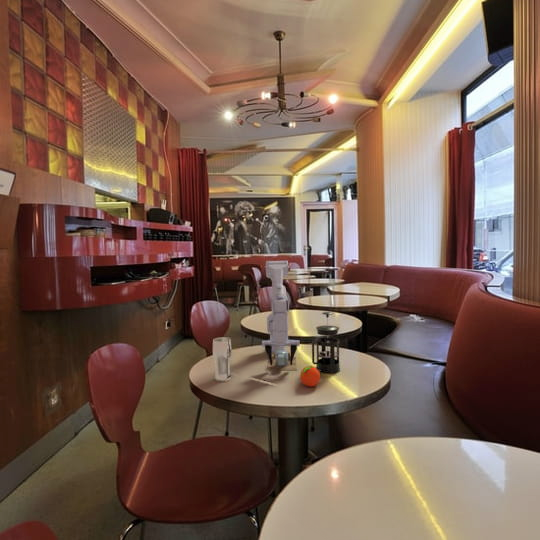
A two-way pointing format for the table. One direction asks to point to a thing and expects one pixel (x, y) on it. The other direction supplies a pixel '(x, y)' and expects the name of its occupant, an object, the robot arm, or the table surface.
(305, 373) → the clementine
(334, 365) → the french press
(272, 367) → the cradle
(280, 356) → the grey block
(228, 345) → the beer glass
